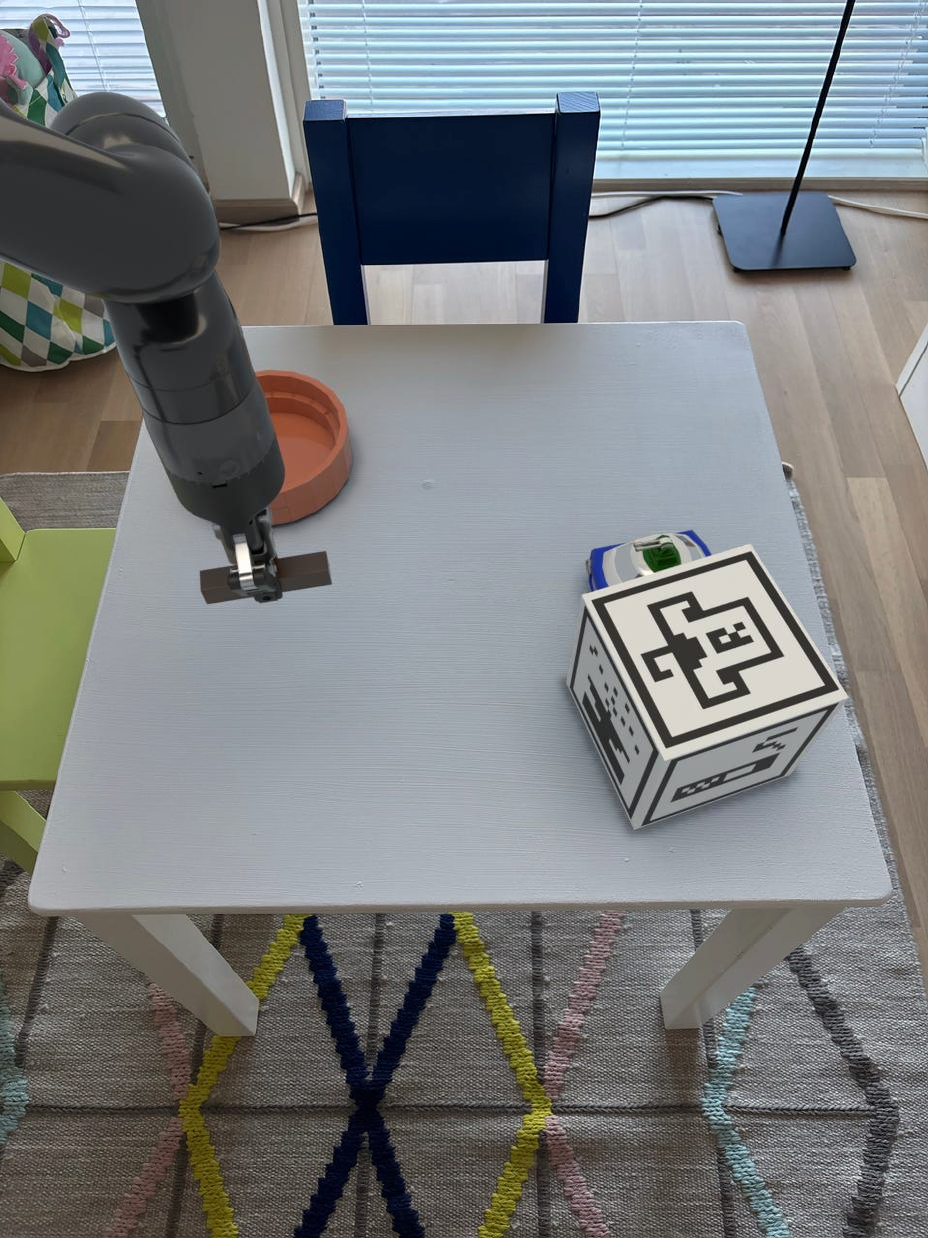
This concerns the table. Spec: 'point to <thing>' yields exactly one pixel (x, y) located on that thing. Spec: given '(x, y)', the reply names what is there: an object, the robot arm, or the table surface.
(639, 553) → the toy car
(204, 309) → the robot arm
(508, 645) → the table surface
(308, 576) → the stick
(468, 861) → the table surface
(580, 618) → the block
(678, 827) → the table surface
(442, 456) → the table surface
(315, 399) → the bowl
